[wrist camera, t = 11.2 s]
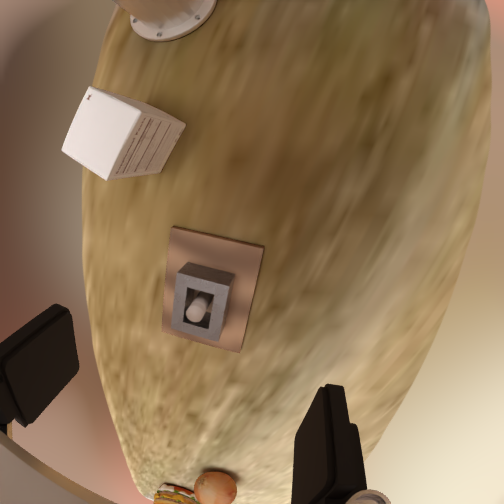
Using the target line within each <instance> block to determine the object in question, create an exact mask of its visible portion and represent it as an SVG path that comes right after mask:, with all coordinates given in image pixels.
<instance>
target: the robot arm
mask: <svg viewBox="0 0 504 504" xmlns="http://www.w3.org/2000/svg"><path fill="white" fill-rule="evenodd" d="M112 1H114V2H115V3H116V4H118V5H119V6H120V7H122V8H123V9H124V10H126V11H127V12H128V13H130V21H131V26H132V28H133V30H134V31H135V32H136V33H137V34H138V35H140V36H141V37H143V38H145V39H147V40H150V41H160V42H163V41H170V40H174V39H177V38H180V37H182V36H185V35H187V34H189V33H190V32H192V31H194V30H195V29H197V28H198V27H199V26H200V25H202V24H203V23H204V22H205V21H206V20H207V19H208V18H209V16H210V15H211V13H212V12H213V10H214V8H215V5H216V1H217V0H112ZM78 370H79V361H78V355H77V350H76V343H75V336H74V329H73V321H72V315H71V314H70V311H69V309H67V308H66V307H63V306H61V305H59V304H54V305H52V306H51V307H49V308H48V309H46V310H45V311H43V312H42V313H41V314H39V315H38V316H36V317H35V318H34V319H32V320H31V321H30V322H28V323H27V324H25V325H24V326H23V327H22V328H20V329H19V330H17V331H16V332H15V333H13V334H12V335H11V336H9V337H8V338H7V339H5V340H4V341H3V342H1V343H0V504H117V503H114V502H112V501H110V500H108V499H106V498H104V497H102V496H100V495H98V494H96V493H94V492H92V491H90V490H88V489H86V488H84V487H82V486H80V485H79V484H77V483H75V482H73V481H71V480H70V479H68V478H66V477H65V476H63V475H62V474H60V473H58V472H56V471H55V470H53V469H52V468H50V467H48V466H47V465H46V464H44V463H43V462H41V461H40V460H38V459H37V458H35V457H34V456H32V455H31V454H30V453H28V452H27V451H26V450H24V449H23V448H22V447H20V446H19V445H18V444H16V443H15V442H14V441H13V440H12V420H13V419H14V418H15V420H16V421H17V422H18V423H19V424H21V425H22V426H23V427H26V426H27V425H28V424H31V423H33V422H34V421H35V420H36V418H38V416H39V415H40V414H41V413H42V412H43V411H44V410H45V408H46V407H47V406H48V405H49V404H50V403H51V402H52V400H53V399H54V398H55V397H56V396H57V395H58V394H59V392H60V391H61V390H62V389H63V388H64V387H65V386H66V385H67V384H68V382H69V381H70V380H71V379H72V378H73V377H74V376H75V375H76V374H77V372H78ZM291 504H391V502H390V501H389V499H388V498H387V497H386V496H385V495H384V494H383V493H381V492H378V491H376V490H367V484H366V476H365V469H364V463H363V456H362V450H361V443H360V437H359V431H358V427H357V425H356V424H353V423H350V421H349V415H348V409H347V403H346V397H345V391H344V387H343V386H340V385H333V384H326V385H325V387H320V388H319V389H318V391H317V393H316V395H315V397H314V400H313V402H312V404H311V406H310V408H309V410H308V412H307V414H306V416H305V418H304V419H303V421H302V423H301V425H300V427H299V429H298V431H297V433H296V436H295V441H294V464H293V482H292V498H291Z"/></svg>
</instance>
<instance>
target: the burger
mask: <svg viewBox="0 0 504 504" xmlns="http://www.w3.org/2000/svg"><path fill="white" fill-rule="evenodd" d="M154 504H201V503H199V501H198V500H197V499H196V497H195V494H194V493H193V492H191V491H188V490H186V489H183V488H180V487H176V486H170V485H166V484H163V485H162V486H161V487H160V488H159V490H158V491H157V493H156V494H155V495H154Z"/></svg>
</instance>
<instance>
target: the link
mask: <svg viewBox="0 0 504 504" xmlns="http://www.w3.org/2000/svg"><path fill="white" fill-rule="evenodd" d="M234 279H235V274H234V273H230V272H226V271H222V270H218V269H214V268H210V267H206V266H203V265H199V264H195V263H191V262H187V263H186V264H185V265H184V266H183V267H182V268H181V269H180V270H179V271H178V272H177V275H176V284H175V292H174V302H173V311H172V322H171V328H172V329H175V330H178V331H182V332H185V333H188V334H192V335H195V336H198V337H202V338H205V339H209V340H213V341H216V342H219V339H220V337H221V334H222V332H223V329H224V327H225V323H226V318H227V313H228V308H229V303H230V298H231V293H232V289H233V284H234ZM195 289H196V290H199V291H203V292H207V293H211V294H214V301H213V306H212V312H211V313H209V312H205V314H204V316H203V318H202V319H201V321H199V322H192V321H190V320H189V319H188V318H187V316H186V311H187V309H188V308H189V306H190V305H191V304H192V302H193V299H194V292H195Z"/></svg>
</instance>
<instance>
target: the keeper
mask: <svg viewBox="0 0 504 504" xmlns="http://www.w3.org/2000/svg"><path fill="white" fill-rule="evenodd" d="M263 250H264V247H263V246H259V245H255V244H250V243H246V242H242V241H237V240H233V239H229V238H224V237H220V236H216V235H211V234H207V233H202V232H198V231H194V230H189V229H185V228H180V227H176V226H173V227H171V232H170V240H169V249H168V258H167V268H166V278H165V289H164V302H163V316H162V332H165V333H168V334H171V335H175V336H178V337H181V338H185V339H188V340H192V341H195V342H199V343H202V344H206V345H209V346H213V347H217V348H221V349H224V350H228V351H232V352H236V353H240V350H241V346H242V342H243V338H244V333H245V329H246V325H247V320H248V316H249V312H250V307H251V303H252V299H253V294H254V290H255V286H256V281H257V277H258V272H259V268H260V264H261V259H262V255H263ZM187 262H191V263H195V264H199V265H203V266H206V267H210V268H214V269H218V270H222V271H226V272H230V273H234V274H235V279H234V284H233V289H232V293H231V298H230V303H229V308H228V313H227V318H226V323H225V327H224V329H223V332H222V334H221V337H220V339H219V342H216V341H213V340H209V339H205V338H202V337H198V336H195V335H192V334H188V333H185V332H182V331H178V330H175V329H172V328H171V322H172V311H173V302H174V292H175V284H176V275H177V272H178V271H179V270H180V269H181V268H182V267H183V266H184V265H185V264H186V263H187ZM213 301H214V294H211V293H207V292H203V291H199V290H196V289H195V292H194V299H193V302H192V304H191V305H190V306H189V308H188V309H187V311H186V316H187V318H188V319H189V320H190V321H192V322H199V321H201V319H202V318H203V316H204V314H205V312H209V313H211V312H212V306H213Z"/></svg>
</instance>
